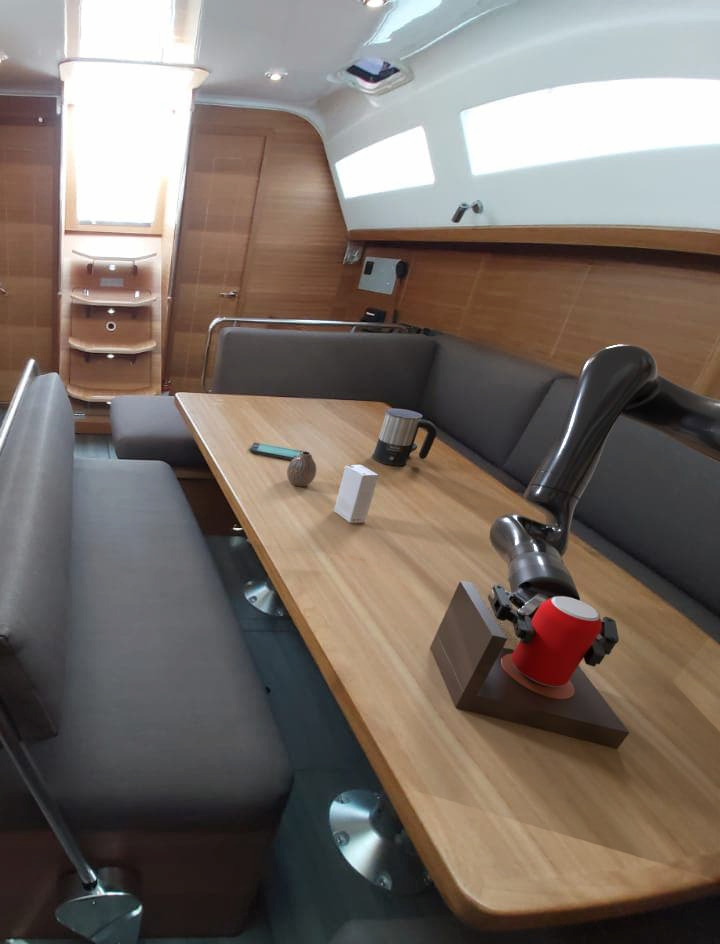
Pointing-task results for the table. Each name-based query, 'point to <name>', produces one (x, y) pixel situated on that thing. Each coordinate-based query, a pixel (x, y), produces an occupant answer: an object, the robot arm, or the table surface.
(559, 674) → the beverage can
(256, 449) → the smartphone
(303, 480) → the vase
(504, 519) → the robot arm
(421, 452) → the milk frother
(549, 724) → the bookend
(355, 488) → the cosmetic box
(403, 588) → the table surface
